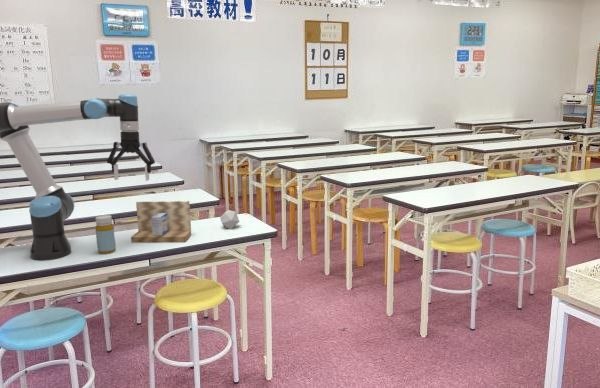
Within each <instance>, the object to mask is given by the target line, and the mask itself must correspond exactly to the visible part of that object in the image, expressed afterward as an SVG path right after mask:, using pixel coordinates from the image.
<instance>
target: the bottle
mask: <svg viewBox="0 0 600 388" xmlns="http://www.w3.org/2000/svg"><path fill="white" fill-rule="evenodd" d="M112 217H113V216H112V215H111V214H102V215H98V216H96V217H95V234H96V235H95V236H96V244H97V247H96V248H97V252H98V253H99V254H101V255H107V254H112V253H114V252H115V251H116V247H117V246H116V240H115V239H116V237H115V236H116V235H115V228H114V227H115V226H114V225H113V219H112Z"/></svg>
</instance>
